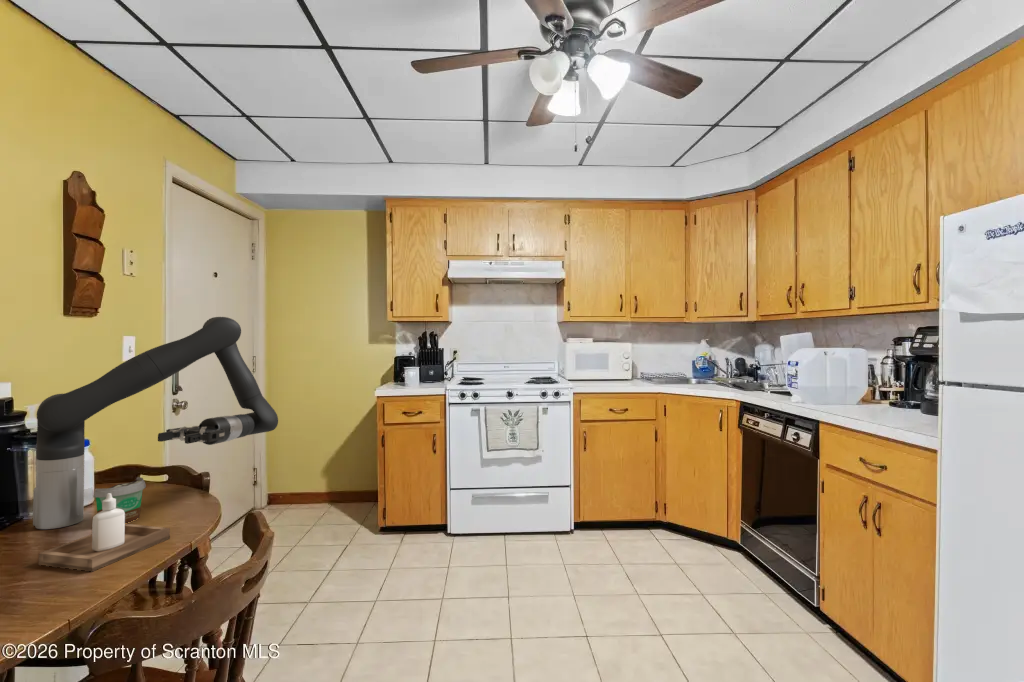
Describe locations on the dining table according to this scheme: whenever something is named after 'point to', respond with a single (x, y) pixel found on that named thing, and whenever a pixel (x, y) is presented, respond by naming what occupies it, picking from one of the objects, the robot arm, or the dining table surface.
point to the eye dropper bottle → (108, 526)
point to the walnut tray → (87, 559)
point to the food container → (124, 498)
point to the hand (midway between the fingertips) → (172, 438)
